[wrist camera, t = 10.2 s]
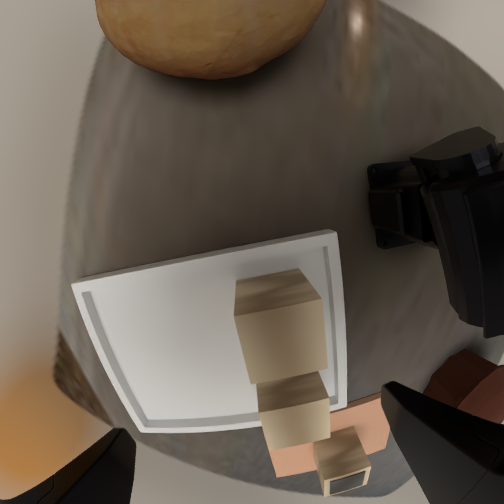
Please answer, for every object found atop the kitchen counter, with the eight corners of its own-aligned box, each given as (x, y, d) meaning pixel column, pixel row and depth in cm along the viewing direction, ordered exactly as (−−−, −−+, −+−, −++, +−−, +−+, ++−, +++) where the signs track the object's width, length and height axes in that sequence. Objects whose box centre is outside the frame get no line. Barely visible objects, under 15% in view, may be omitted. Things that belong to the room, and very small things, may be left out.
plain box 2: (309, 350, 21) (329, 397, 15) (313, 389, 22) (330, 437, 16) (254, 361, 21) (258, 412, 15) (263, 400, 22) (269, 450, 16)
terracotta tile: (394, 387, 23) (397, 391, 22) (383, 444, 25) (385, 448, 24) (261, 422, 23) (262, 428, 22) (276, 472, 25) (277, 477, 24)
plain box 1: (298, 268, 19) (322, 298, 13) (306, 323, 20) (327, 368, 14) (236, 280, 19) (233, 316, 13) (248, 335, 20) (250, 384, 14)
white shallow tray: (328, 228, 19) (336, 232, 18) (341, 395, 23) (346, 406, 21) (82, 277, 19) (70, 284, 18) (145, 420, 23) (140, 432, 21)
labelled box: (353, 425, 23) (371, 466, 17) (351, 447, 24) (366, 485, 18) (312, 437, 23) (324, 481, 17) (313, 457, 24) (324, 498, 18)
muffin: (398, 420, 24) (432, 476, 15) (437, 343, 22) (494, 394, 12) (457, 405, 25) (492, 445, 15) (492, 338, 23) (539, 372, 13)
